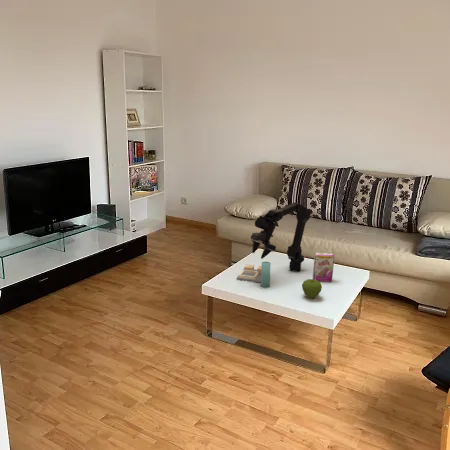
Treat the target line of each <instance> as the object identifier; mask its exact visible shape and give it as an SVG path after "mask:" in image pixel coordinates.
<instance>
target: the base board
mask: <svg viewBox="0 0 450 450" xmlns="http://www.w3.org/2000/svg"><path fill="white" fill-rule="evenodd" d="M261 268H262V265H258V267H257V268H255V265H254V264H245V265H244V267H243V269H242V270H241V272H240V273H239V274H238V276H237V277H236V281H242V282H243V281H244V282H250V283H257V284H261Z"/></svg>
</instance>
